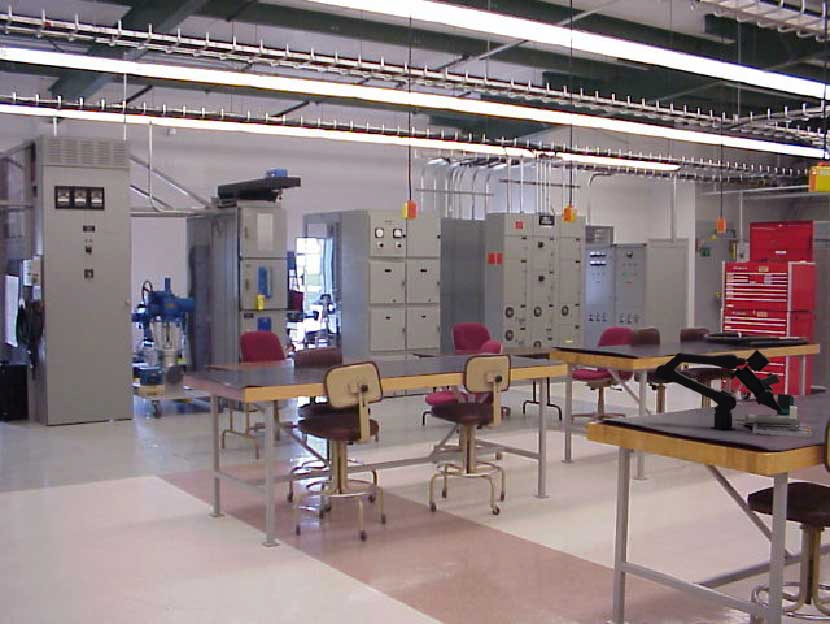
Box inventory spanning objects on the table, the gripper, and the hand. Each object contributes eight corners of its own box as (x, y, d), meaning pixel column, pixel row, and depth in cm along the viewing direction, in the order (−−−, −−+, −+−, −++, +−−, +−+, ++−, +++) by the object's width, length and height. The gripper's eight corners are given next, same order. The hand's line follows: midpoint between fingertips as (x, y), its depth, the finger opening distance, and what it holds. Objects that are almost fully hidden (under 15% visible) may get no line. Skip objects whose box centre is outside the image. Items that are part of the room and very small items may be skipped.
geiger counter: (802, 412, 322) (731, 411, 329) (802, 429, 321) (732, 427, 328) (796, 415, 335) (729, 413, 342) (797, 431, 334) (729, 429, 341)
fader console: (752, 433, 318) (752, 426, 318) (753, 428, 328) (753, 422, 328) (811, 437, 310) (811, 431, 310) (811, 433, 320) (811, 426, 320)
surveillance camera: (800, 392, 346) (791, 394, 339) (799, 422, 347) (790, 425, 339) (785, 391, 350) (777, 393, 343) (784, 420, 350) (776, 423, 343)
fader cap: (789, 429, 316) (790, 407, 316) (789, 427, 320) (790, 406, 320) (796, 430, 315) (797, 408, 315) (796, 428, 319) (797, 406, 319)
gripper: (766, 368, 312) (798, 400, 308) (767, 364, 329) (797, 394, 325) (742, 388, 316) (774, 420, 312) (744, 383, 333) (775, 413, 329)
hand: (781, 411), depth 319 cm, fingers closed
